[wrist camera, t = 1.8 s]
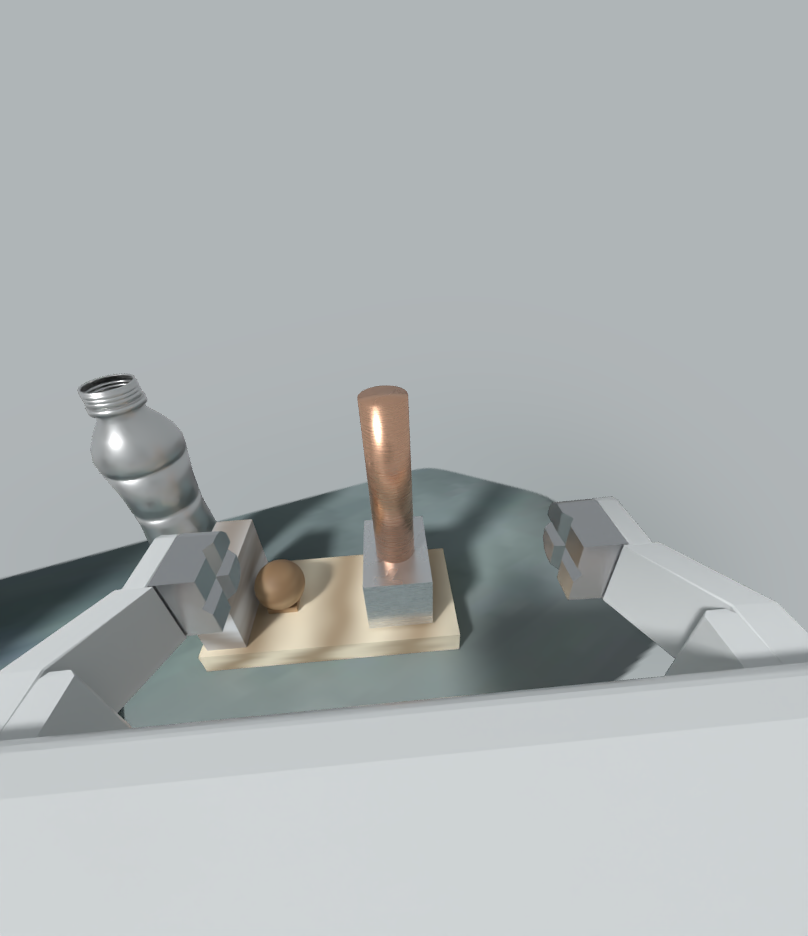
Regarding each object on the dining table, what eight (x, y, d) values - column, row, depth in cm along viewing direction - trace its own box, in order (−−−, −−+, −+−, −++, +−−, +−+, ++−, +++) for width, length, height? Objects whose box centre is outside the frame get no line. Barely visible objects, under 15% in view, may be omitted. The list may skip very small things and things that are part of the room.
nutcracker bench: (207, 671, 30) (166, 609, 26) (239, 579, 38) (212, 518, 33) (459, 648, 31) (463, 584, 26) (442, 562, 38) (443, 500, 34)
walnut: (256, 623, 31) (242, 591, 29) (267, 583, 35) (255, 551, 32) (306, 619, 32) (295, 586, 29) (312, 579, 35) (303, 547, 32)
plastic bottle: (167, 609, 35) (38, 413, 24) (168, 559, 40) (63, 377, 29) (240, 582, 37) (155, 390, 26) (233, 538, 43) (159, 360, 31)
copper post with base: (369, 628, 30) (335, 427, 20) (369, 560, 36) (344, 376, 26) (432, 623, 30) (432, 420, 20) (423, 555, 36) (418, 371, 26)
